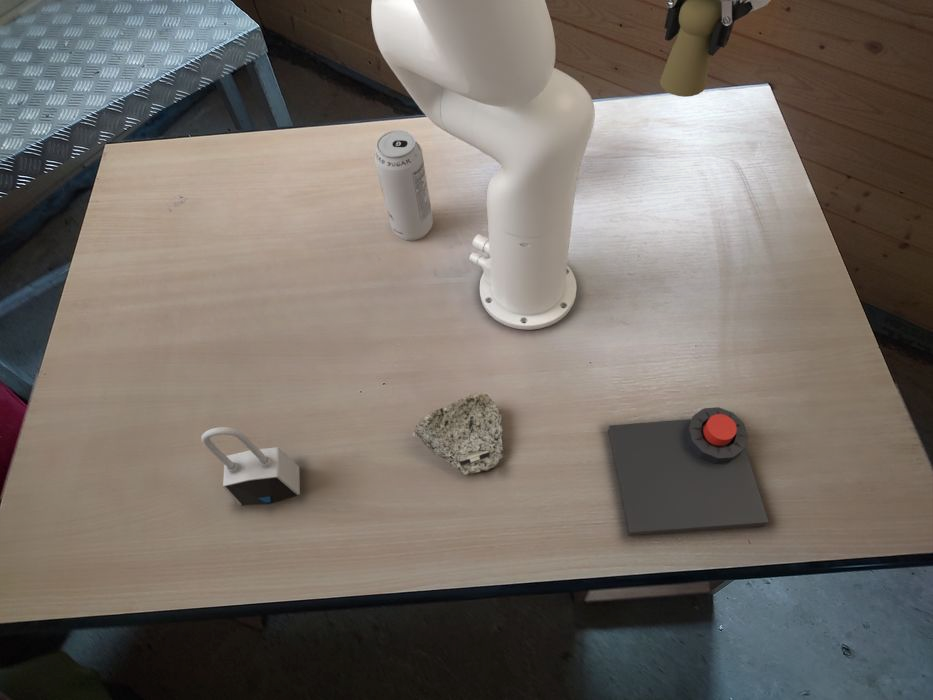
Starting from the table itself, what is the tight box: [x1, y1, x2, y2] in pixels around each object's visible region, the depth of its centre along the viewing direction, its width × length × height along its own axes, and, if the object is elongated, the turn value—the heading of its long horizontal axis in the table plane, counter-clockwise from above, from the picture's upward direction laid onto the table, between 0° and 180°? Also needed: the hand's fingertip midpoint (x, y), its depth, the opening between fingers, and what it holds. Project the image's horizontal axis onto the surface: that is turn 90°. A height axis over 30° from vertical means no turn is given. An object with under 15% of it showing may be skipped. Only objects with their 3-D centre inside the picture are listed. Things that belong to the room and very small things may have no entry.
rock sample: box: [412, 392, 505, 476], centre depth 69 cm, size 10×8×9 cm
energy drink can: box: [374, 129, 434, 241], centre depth 83 cm, size 6×6×15 cm
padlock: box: [200, 426, 301, 506], centre depth 63 cm, size 7×4×15 cm, turn 99°
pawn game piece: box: [659, 0, 722, 98], centre depth 79 cm, size 6×6×11 cm
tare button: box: [703, 414, 737, 446], centre depth 66 cm, size 3×3×2 cm
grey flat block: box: [607, 406, 770, 537], centre depth 66 cm, size 14×12×3 cm
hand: (693, 41), depth 79 cm, fingers closed on pawn game piece, 5 cm apart
